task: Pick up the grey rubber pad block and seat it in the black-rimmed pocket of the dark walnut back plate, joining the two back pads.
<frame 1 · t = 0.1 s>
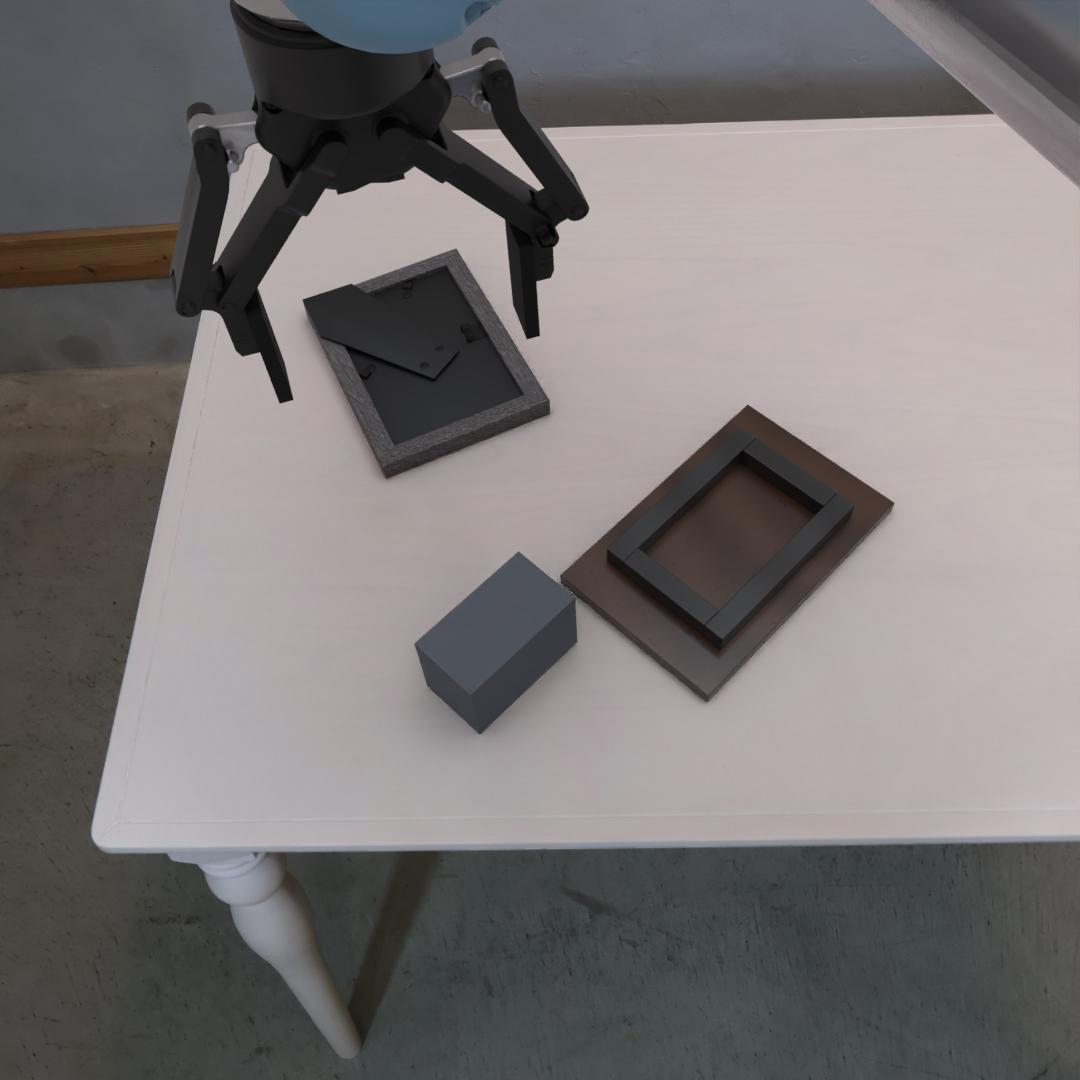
hand: (406, 352, 61), 21 cm above the table, tool pointing down, fingers open, 13 cm apart
pad block: (502, 663, 74), on the table
picture frame: (424, 365, 88), on the table
back plate: (728, 546, 78), on the table
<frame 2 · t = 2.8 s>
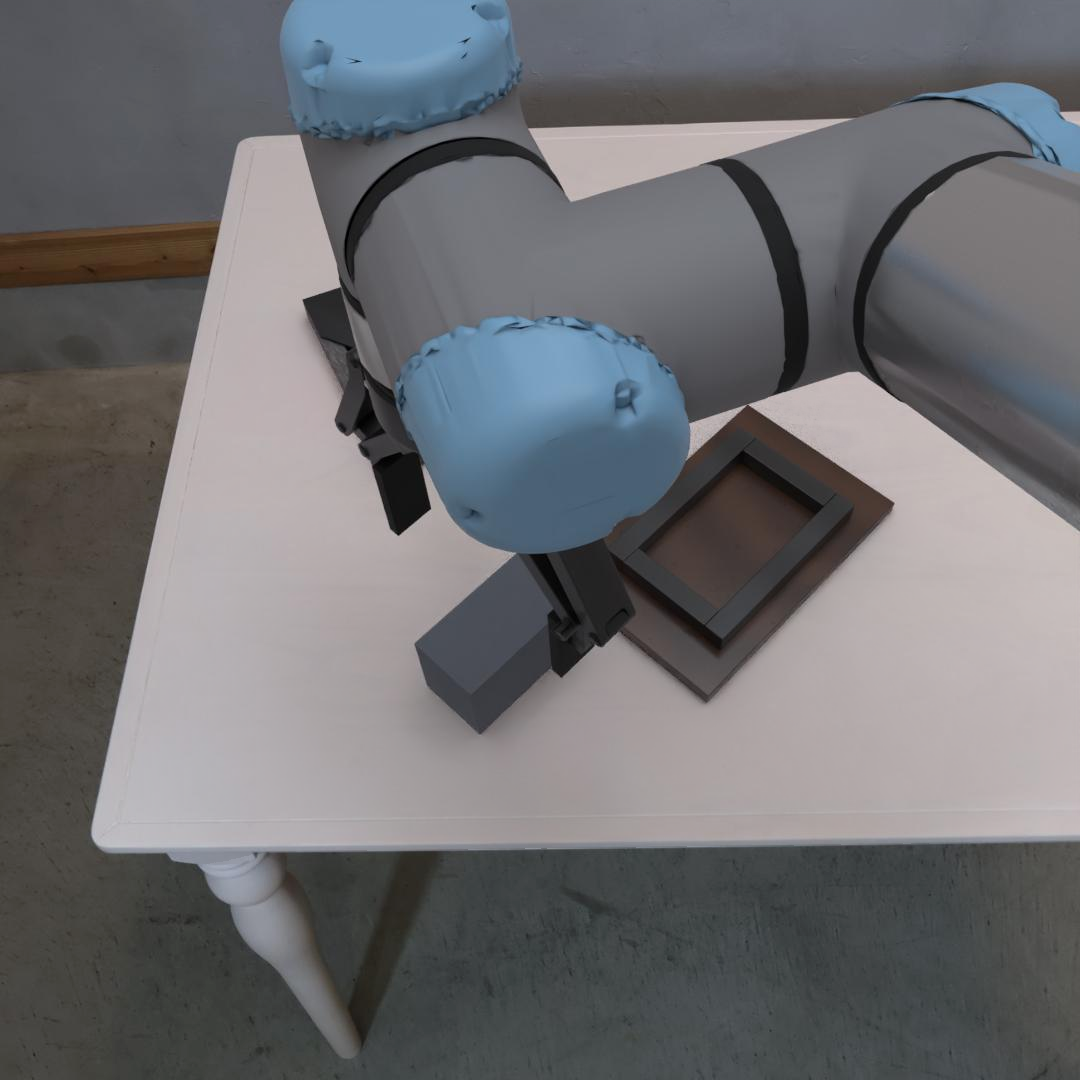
hand: (488, 586, 66), 10 cm above the table, tool pointing down, fingers open, 13 cm apart
nothing on the table moved.
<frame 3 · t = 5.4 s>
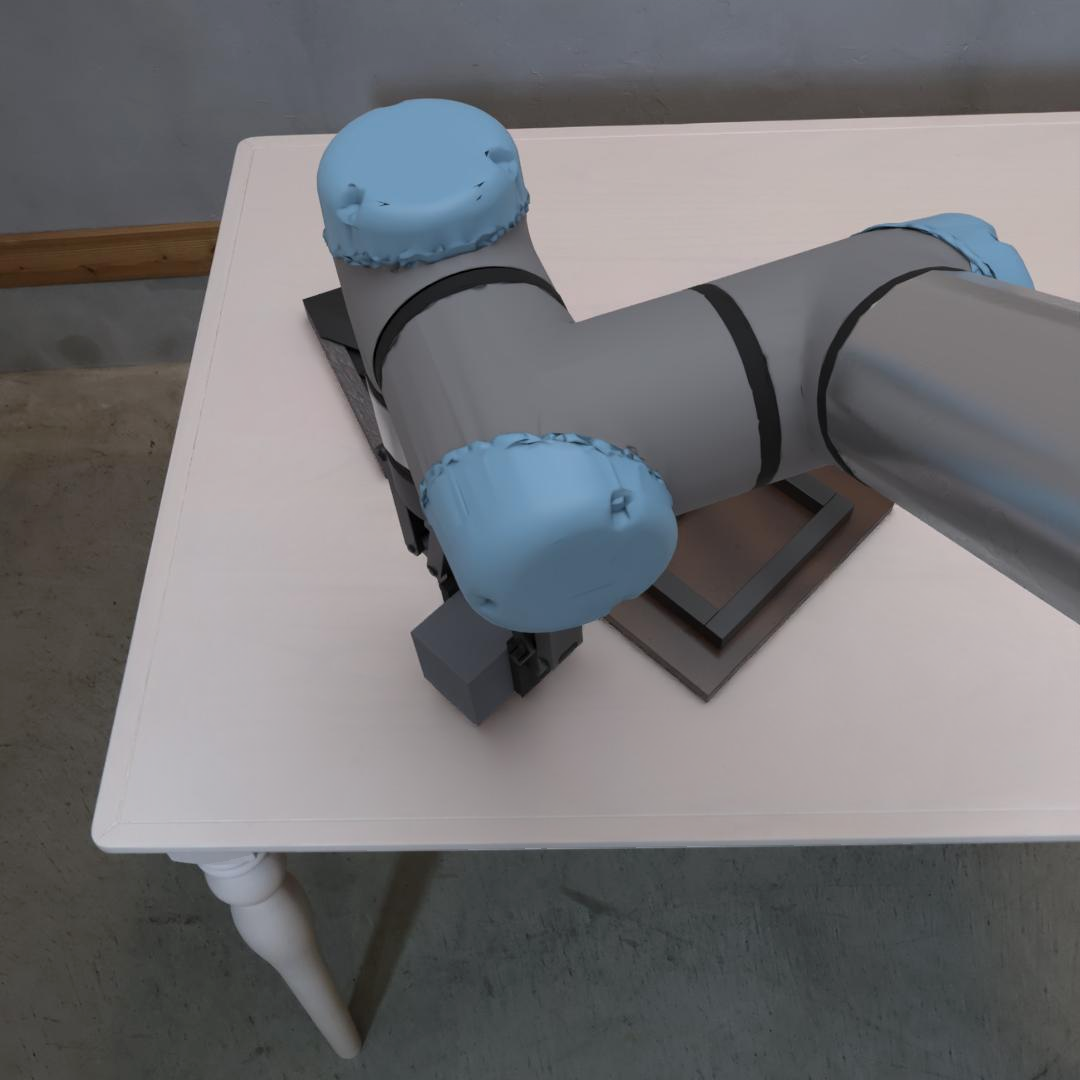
hand: (501, 652, 72), 2 cm above the table, tool pointing down, fingers closed on pad block, 5 cm apart
pad block: (501, 654, 72), point 2 cm above the table, touching gripper
everything else where it was.
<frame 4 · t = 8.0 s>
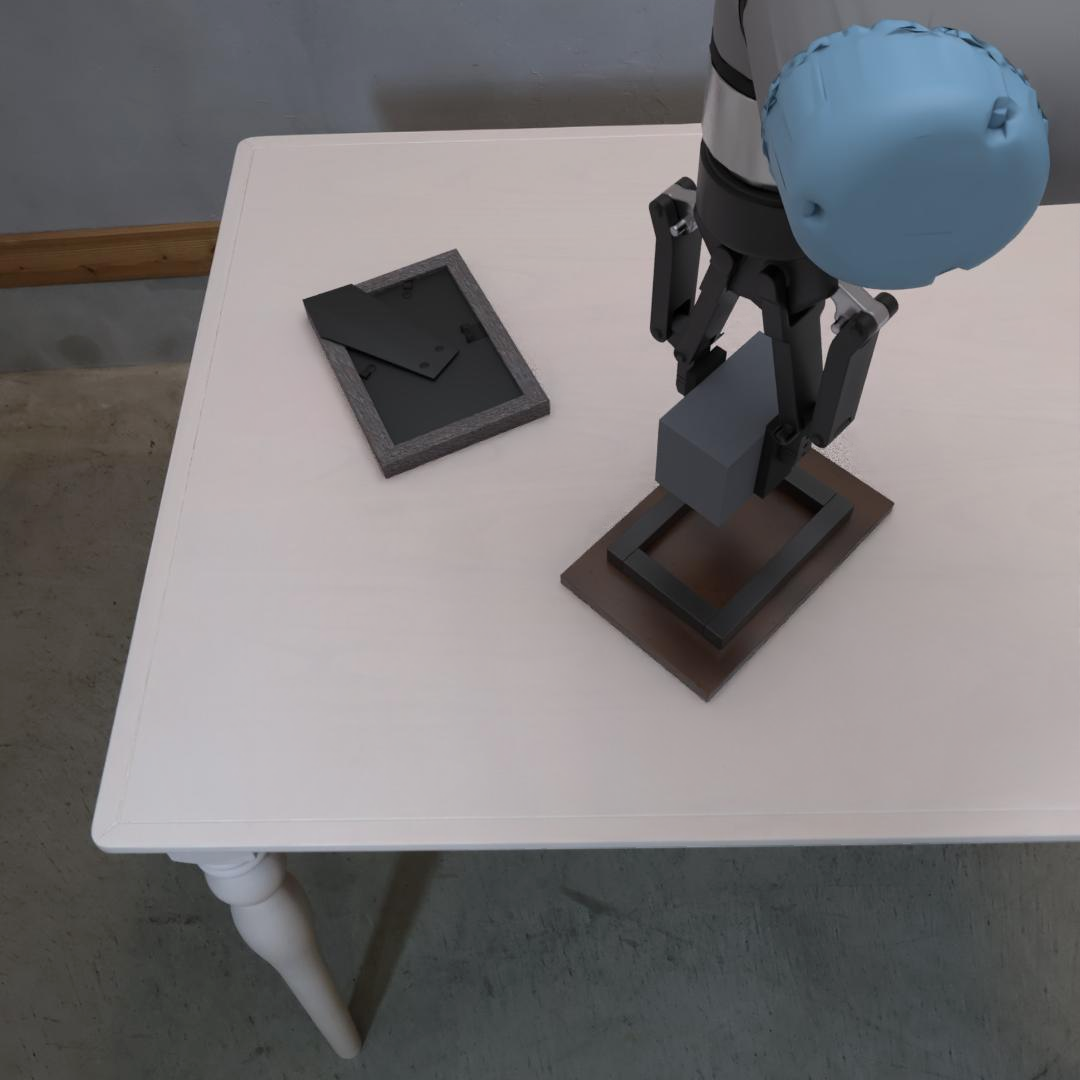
hand: (734, 455, 69), 11 cm above the table, tool pointing down, fingers closed on pad block, 5 cm apart
pad block: (734, 458, 69), point 11 cm above the table, touching gripper
everything else where it was.
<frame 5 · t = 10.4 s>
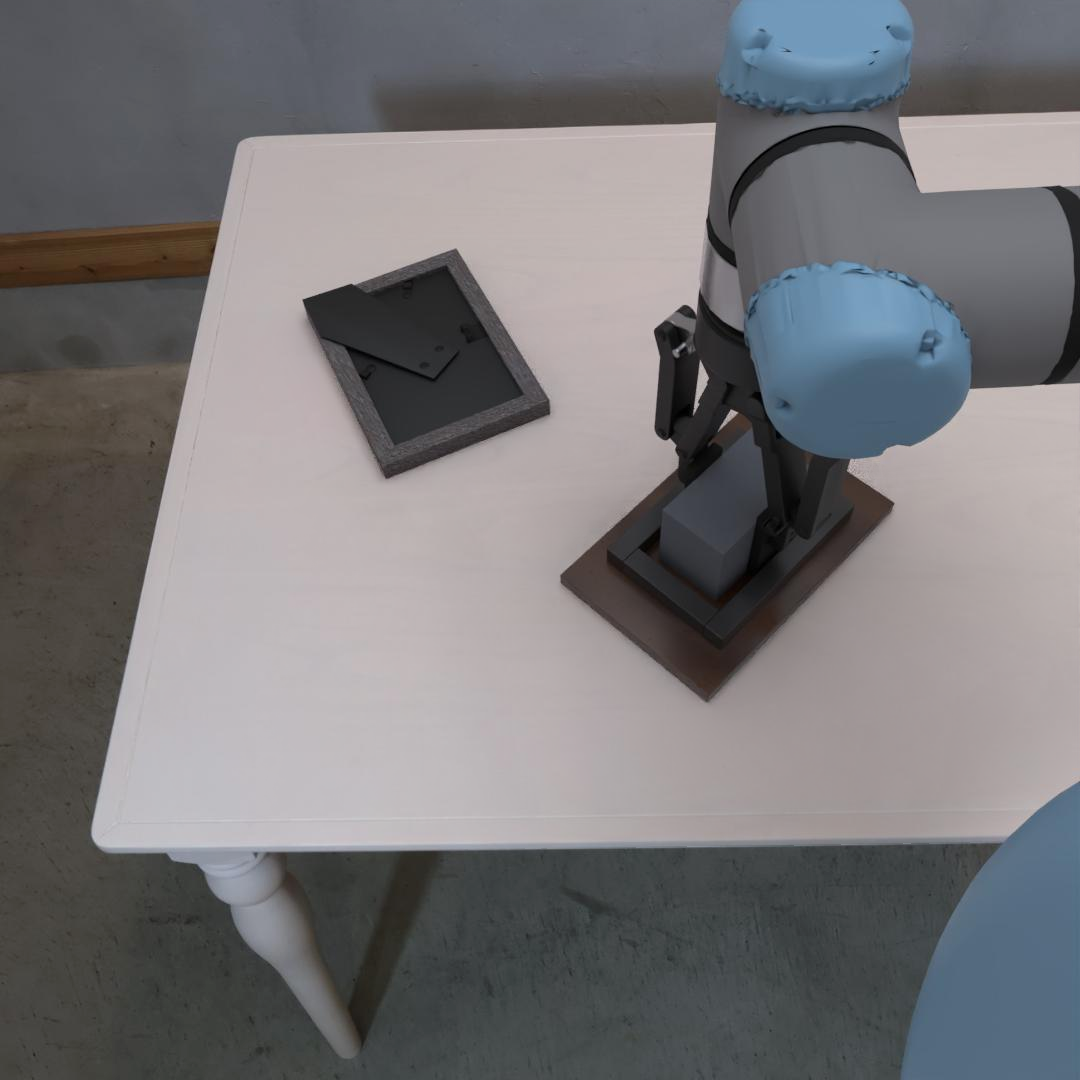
hand: (730, 536, 77), 1 cm above the table, tool pointing down, fingers closed on pad block, 5 cm apart
pad block: (729, 538, 77), point 1 cm above the table, touching gripper
everything else where it was.
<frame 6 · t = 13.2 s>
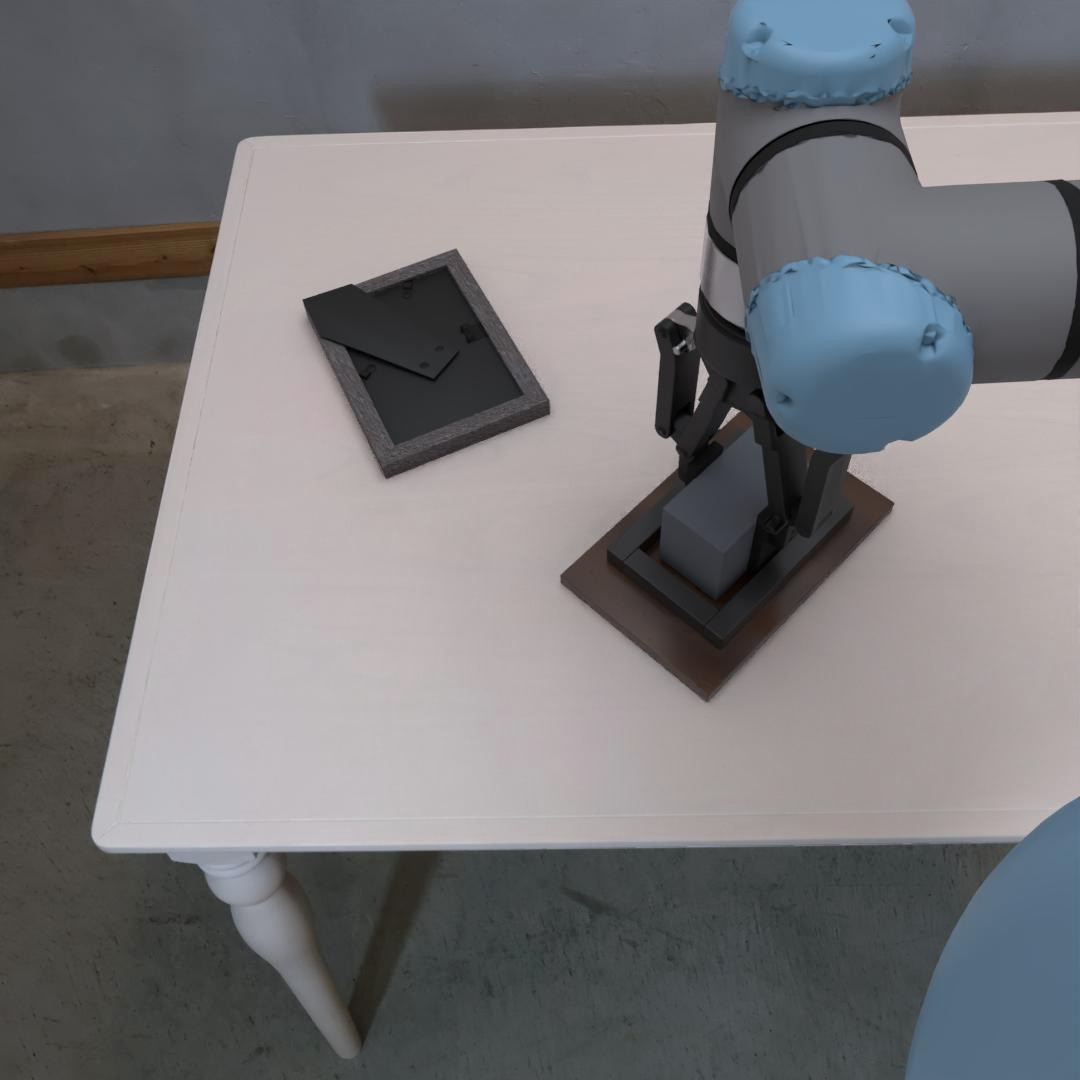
hand: (730, 535, 77), 2 cm above the table, tool pointing down, fingers closed on pad block, 5 cm apart
pad block: (729, 537, 77), point 1 cm above the table, touching gripper
everything else where it was.
when the fingers open (3 cm above the table, at t = 15.4 s): pad block stays where it is, resting on back plate.
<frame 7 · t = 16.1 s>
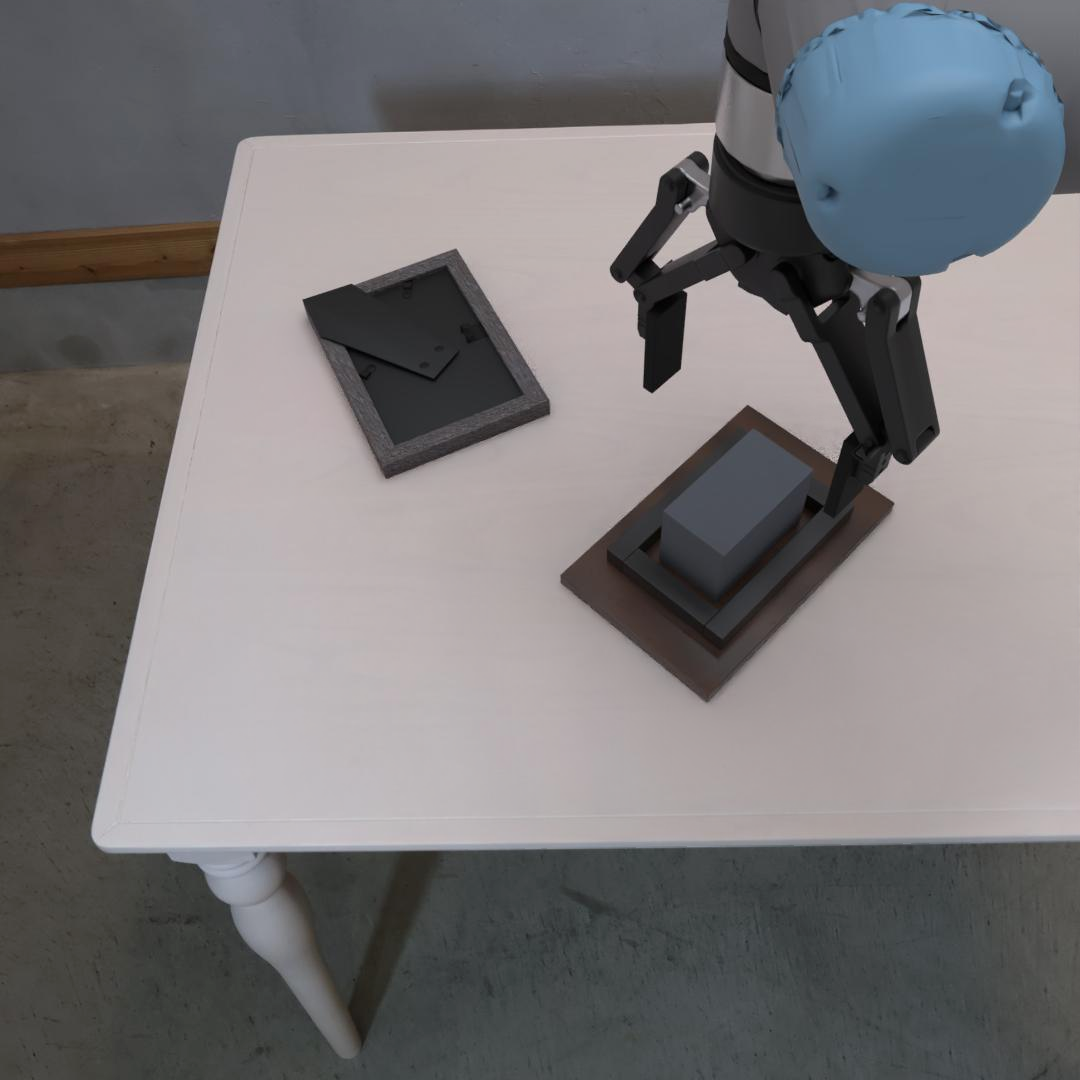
hand: (748, 437, 67), 13 cm above the table, tool pointing down, fingers open, 13 cm apart
pad block: (730, 539, 77), point 1 cm above the table, touching back plate
everything else where it was.
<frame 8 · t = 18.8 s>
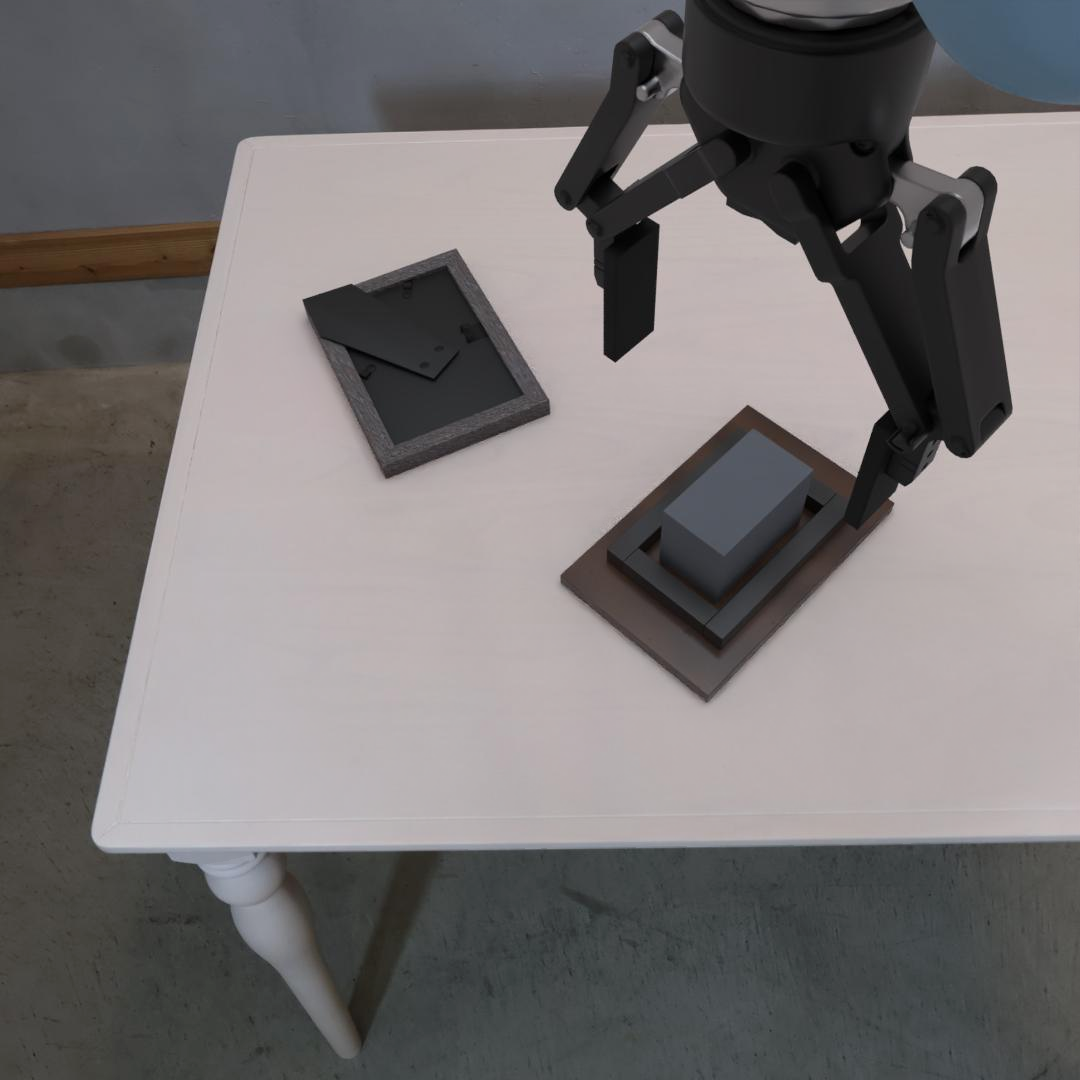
hand: (742, 420, 50), 27 cm above the table, tool pointing down, fingers open, 13 cm apart
nothing on the table moved.
at the end: pad block 0.1 cm off-centre on the back plate, point 1.0 cm above the back plate's base; the gripper is holding nothing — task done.
